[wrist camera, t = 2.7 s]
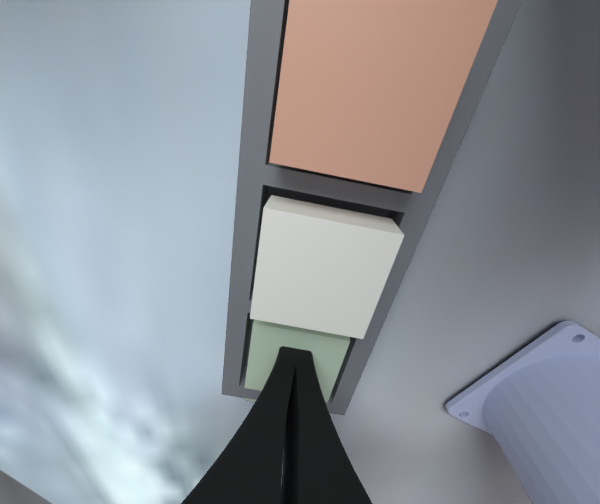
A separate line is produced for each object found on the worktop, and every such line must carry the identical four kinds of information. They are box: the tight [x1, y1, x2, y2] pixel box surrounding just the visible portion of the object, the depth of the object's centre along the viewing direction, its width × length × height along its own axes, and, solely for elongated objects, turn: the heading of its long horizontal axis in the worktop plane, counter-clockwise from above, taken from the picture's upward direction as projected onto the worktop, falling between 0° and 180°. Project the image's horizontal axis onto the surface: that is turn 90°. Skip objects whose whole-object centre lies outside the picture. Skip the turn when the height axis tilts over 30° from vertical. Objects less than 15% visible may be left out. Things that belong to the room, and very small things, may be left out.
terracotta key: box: [269, 0, 498, 193], centre depth 6 cm, size 4×4×1 cm
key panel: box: [222, 0, 522, 415], centre depth 10 cm, size 17×6×2 cm, turn 169°
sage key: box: [244, 319, 350, 402], centre depth 12 cm, size 4×4×1 cm
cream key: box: [250, 195, 404, 339], centre depth 9 cm, size 4×4×1 cm
